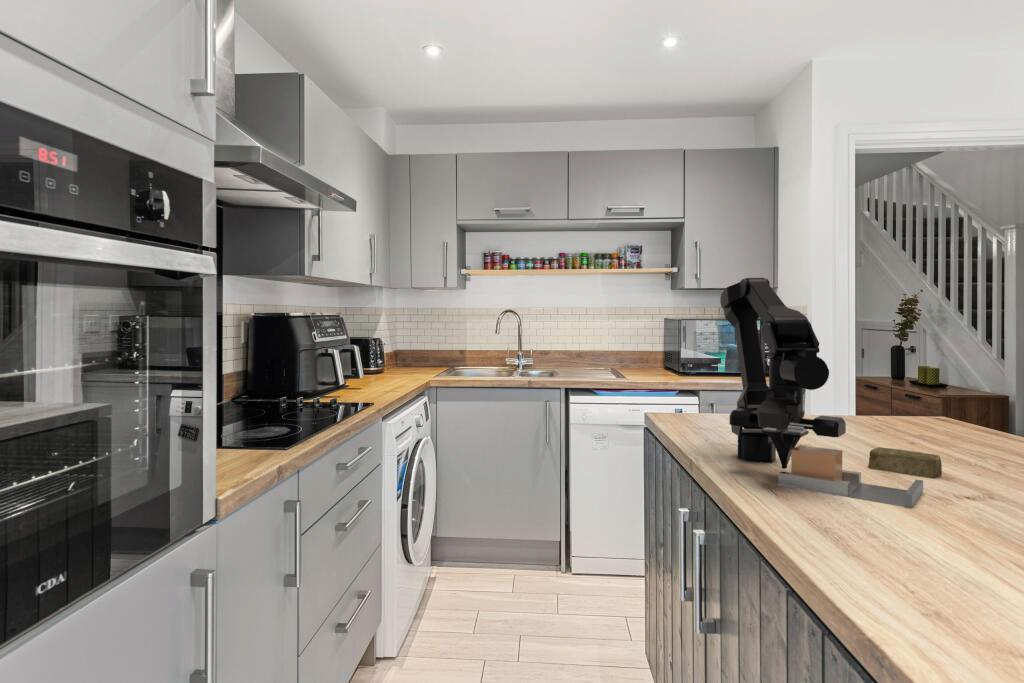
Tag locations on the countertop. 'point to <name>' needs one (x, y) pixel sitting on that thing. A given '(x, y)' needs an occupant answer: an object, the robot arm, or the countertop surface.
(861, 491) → the chute
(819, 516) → the countertop surface
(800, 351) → the robot arm
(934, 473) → the stone block
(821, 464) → the block
